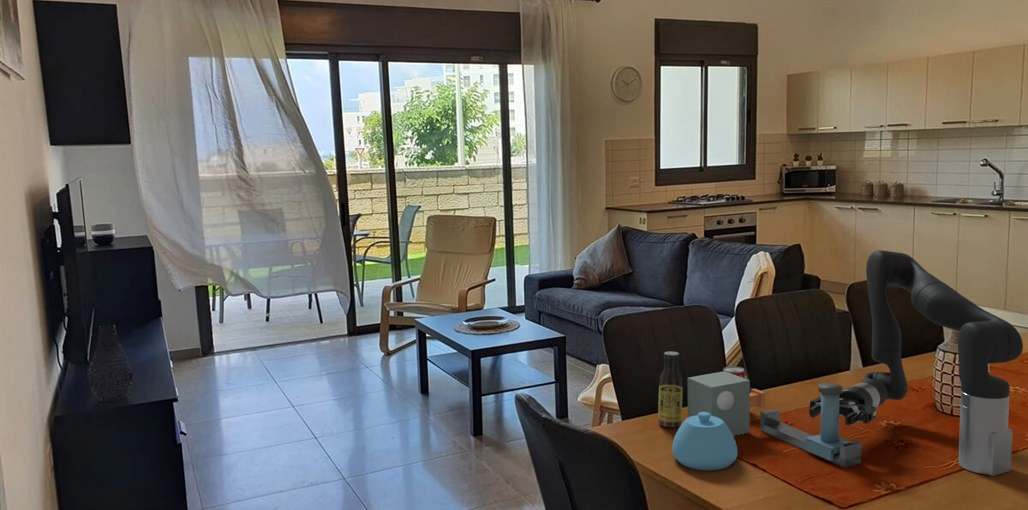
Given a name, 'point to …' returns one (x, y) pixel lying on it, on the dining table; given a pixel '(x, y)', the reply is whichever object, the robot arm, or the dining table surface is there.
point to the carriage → (827, 424)
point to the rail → (796, 437)
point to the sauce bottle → (670, 392)
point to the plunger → (757, 398)
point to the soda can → (736, 371)
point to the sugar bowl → (704, 443)
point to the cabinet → (721, 399)
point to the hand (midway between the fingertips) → (828, 417)
